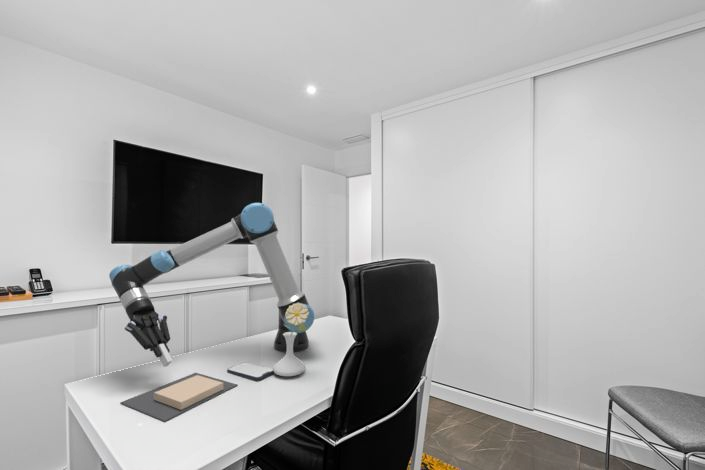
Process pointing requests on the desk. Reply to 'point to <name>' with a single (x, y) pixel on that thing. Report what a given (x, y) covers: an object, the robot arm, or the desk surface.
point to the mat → (164, 411)
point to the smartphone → (251, 371)
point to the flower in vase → (290, 362)
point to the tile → (188, 392)
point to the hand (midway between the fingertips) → (168, 363)
